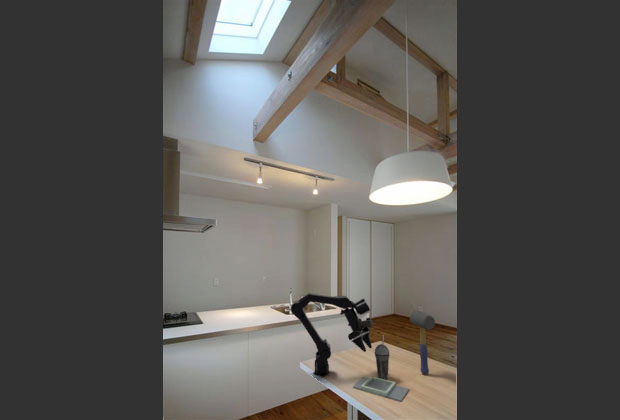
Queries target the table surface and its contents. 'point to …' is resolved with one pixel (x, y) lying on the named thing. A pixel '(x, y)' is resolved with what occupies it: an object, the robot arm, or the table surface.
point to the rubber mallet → (423, 335)
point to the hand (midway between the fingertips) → (368, 349)
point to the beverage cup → (382, 360)
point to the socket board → (382, 388)
